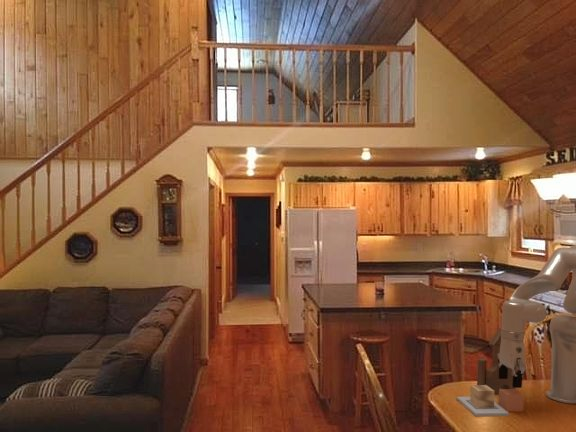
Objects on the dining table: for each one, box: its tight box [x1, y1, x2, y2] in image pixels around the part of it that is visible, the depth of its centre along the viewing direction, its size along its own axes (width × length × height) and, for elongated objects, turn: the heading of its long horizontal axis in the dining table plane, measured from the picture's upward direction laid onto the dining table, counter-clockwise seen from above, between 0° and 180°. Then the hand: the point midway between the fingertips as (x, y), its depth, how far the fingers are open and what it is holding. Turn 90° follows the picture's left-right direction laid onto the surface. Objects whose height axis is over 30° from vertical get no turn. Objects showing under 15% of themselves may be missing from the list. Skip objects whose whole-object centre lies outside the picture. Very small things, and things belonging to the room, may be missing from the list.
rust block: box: [498, 388, 525, 412], centre depth 188 cm, size 6×6×6 cm
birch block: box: [469, 384, 495, 408], centre depth 188 cm, size 6×6×6 cm
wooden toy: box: [476, 327, 517, 396], centre depth 206 cm, size 16×7×25 cm, turn 118°
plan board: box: [456, 396, 510, 417], centre depth 188 cm, size 12×16×1 cm
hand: (509, 382), depth 187 cm, fingers open, 9 cm apart
